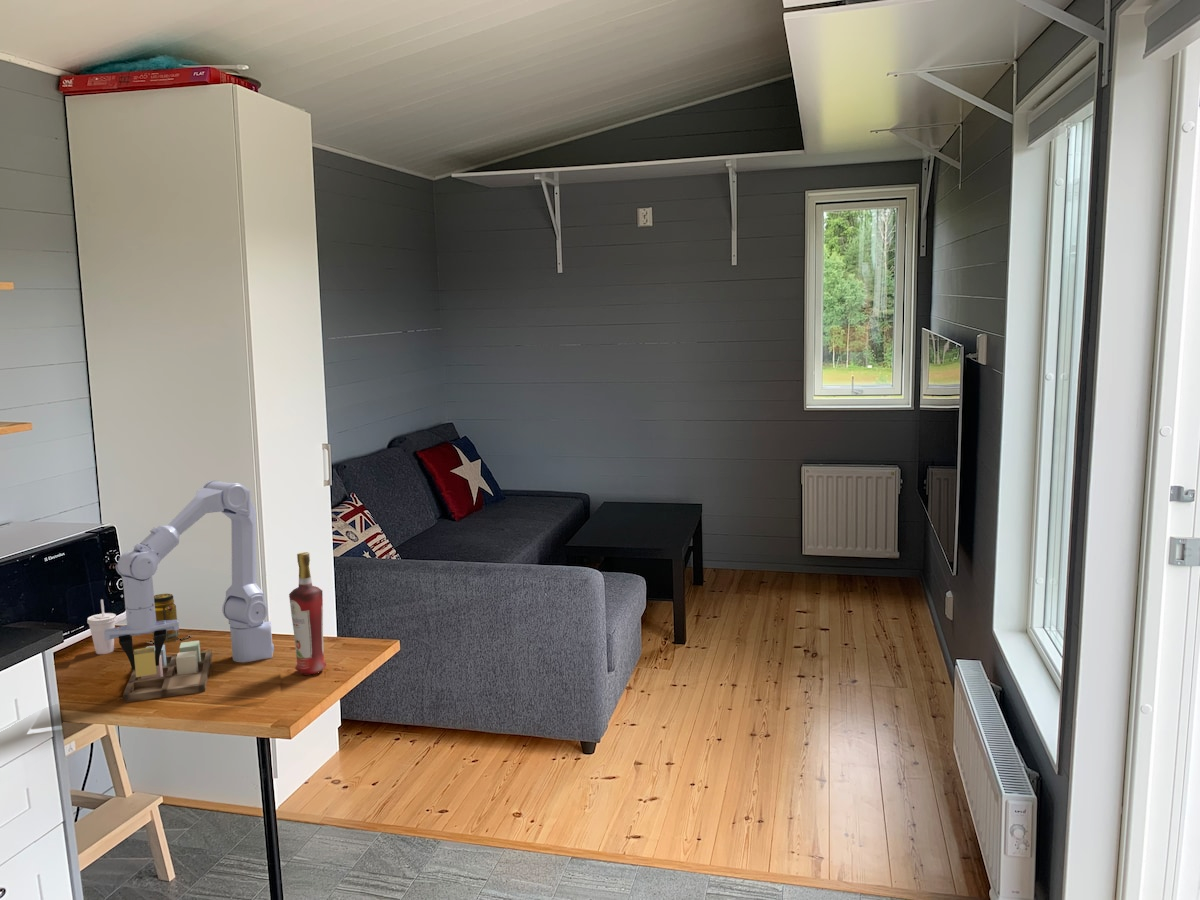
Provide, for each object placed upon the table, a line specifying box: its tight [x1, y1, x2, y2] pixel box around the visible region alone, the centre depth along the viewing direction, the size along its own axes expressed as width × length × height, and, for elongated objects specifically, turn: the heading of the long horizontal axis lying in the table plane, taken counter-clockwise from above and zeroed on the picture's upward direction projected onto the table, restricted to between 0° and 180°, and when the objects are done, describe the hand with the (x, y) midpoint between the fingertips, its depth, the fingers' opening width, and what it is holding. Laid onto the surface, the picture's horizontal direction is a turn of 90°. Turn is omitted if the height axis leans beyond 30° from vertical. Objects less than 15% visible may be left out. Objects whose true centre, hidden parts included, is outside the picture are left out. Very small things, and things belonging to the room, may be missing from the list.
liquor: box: [288, 552, 327, 676], centre depth 218 cm, size 7×7×28 cm
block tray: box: [122, 649, 213, 703], centre depth 216 cm, size 16×24×2 cm
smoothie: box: [86, 598, 117, 655], centre depth 234 cm, size 6×6×14 cm
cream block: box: [176, 651, 198, 675], centre depth 217 cm, size 4×4×5 cm
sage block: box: [179, 640, 201, 662], centre depth 224 cm, size 4×4×5 cm
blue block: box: [145, 644, 167, 666], centre depth 222 cm, size 4×4×5 cm
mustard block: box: [133, 646, 156, 677], centre depth 208 cm, size 4×4×5 cm
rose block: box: [141, 655, 163, 680], centre depth 215 cm, size 4×4×5 cm
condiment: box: [145, 593, 192, 645], centre depth 245 cm, size 7×8×12 cm
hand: (145, 666), depth 207 cm, fingers closed on mustard block, 4 cm apart
